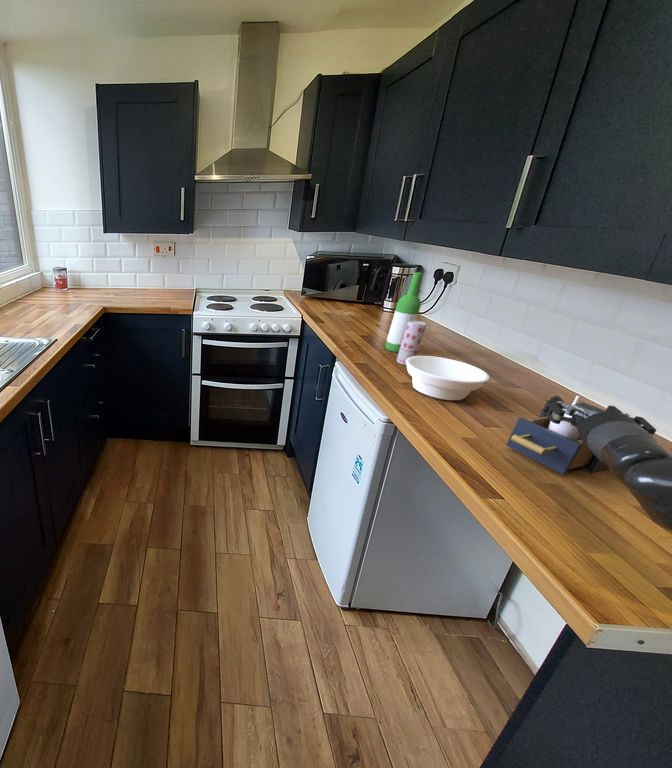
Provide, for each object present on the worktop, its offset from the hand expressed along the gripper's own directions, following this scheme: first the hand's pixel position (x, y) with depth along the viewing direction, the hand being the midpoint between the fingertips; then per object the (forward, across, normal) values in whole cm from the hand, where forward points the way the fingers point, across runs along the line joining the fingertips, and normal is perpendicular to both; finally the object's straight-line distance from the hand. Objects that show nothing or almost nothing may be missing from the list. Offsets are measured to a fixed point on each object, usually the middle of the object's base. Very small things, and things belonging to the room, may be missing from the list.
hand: (580, 404), depth 82 cm
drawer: (+2, 0, +14) cm, 14 cm away
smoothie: (+2, 0, +13) cm, 13 cm away
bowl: (+32, +18, +15) cm, 40 cm away
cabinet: (+10, -8, +15) cm, 20 cm away
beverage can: (+57, +26, +15) cm, 64 cm away
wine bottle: (+71, +29, +15) cm, 78 cm away
